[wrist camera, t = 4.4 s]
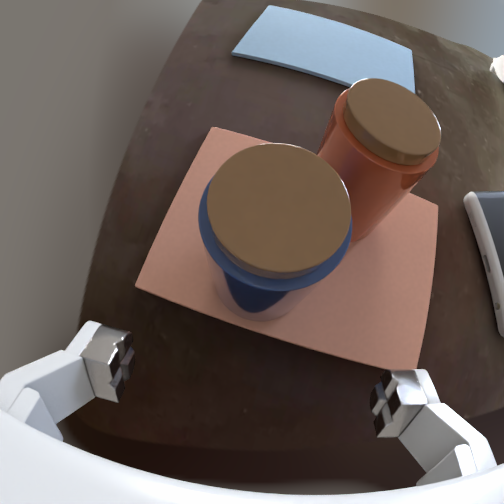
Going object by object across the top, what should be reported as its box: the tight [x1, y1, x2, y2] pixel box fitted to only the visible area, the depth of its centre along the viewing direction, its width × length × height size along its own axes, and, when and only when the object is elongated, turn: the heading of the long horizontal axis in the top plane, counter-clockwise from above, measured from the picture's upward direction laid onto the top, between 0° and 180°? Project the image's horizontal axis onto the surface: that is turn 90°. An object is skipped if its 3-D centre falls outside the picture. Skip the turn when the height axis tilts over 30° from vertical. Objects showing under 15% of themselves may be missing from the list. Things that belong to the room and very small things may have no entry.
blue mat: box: [232, 5, 415, 94], centre depth 30 cm, size 20×14×1 cm
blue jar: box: [198, 143, 352, 321], centre depth 16 cm, size 6×6×10 cm
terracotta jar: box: [317, 78, 441, 242], centre depth 18 cm, size 6×6×10 cm
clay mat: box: [135, 127, 438, 370], centre depth 22 cm, size 20×14×1 cm
